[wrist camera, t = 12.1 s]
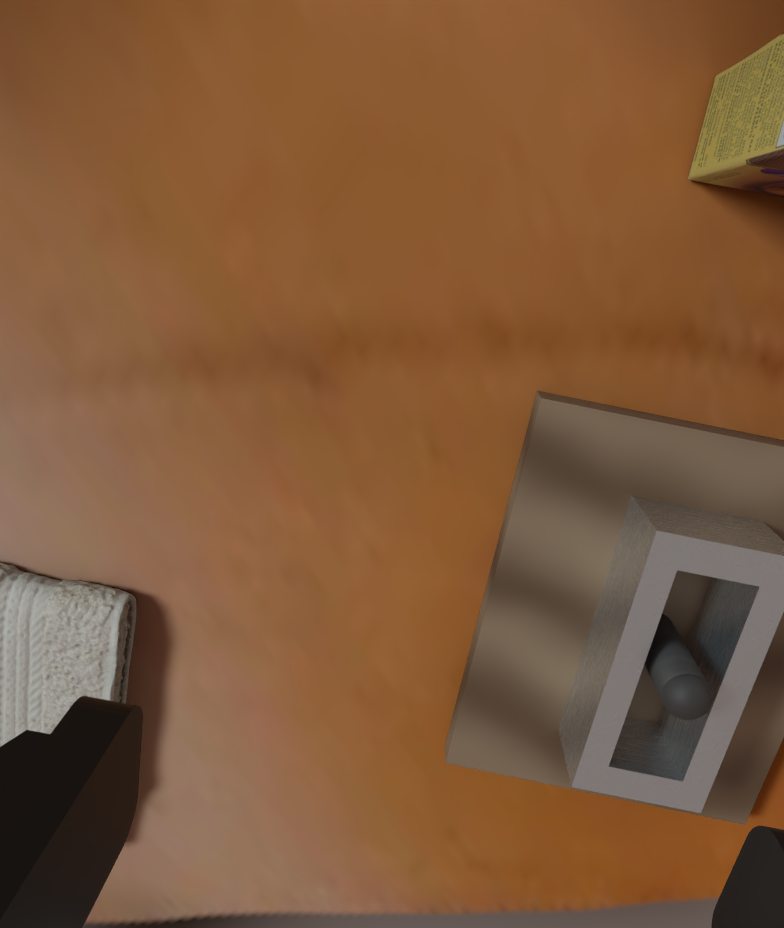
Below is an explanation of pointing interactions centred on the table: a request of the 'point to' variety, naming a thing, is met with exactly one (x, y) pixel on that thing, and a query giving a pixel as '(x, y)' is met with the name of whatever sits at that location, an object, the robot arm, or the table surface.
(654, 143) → the table surface
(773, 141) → the candy box
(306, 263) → the table surface
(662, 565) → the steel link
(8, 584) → the washcloth
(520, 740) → the keeper plate
